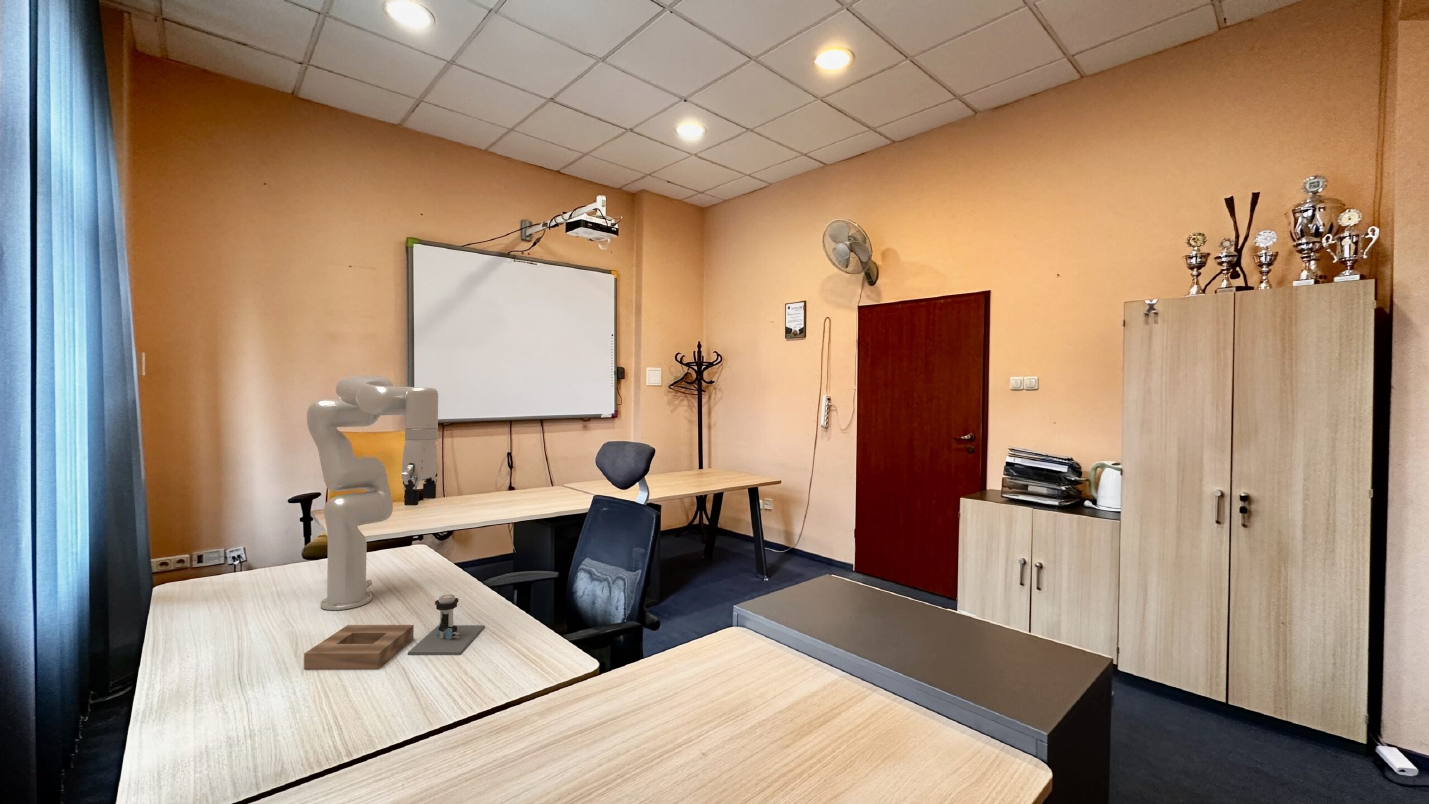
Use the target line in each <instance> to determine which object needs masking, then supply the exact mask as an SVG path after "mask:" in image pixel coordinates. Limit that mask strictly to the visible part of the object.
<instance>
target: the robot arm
mask: <svg viewBox="0 0 1429 804" xmlns="http://www.w3.org/2000/svg"><path fill="white" fill-rule="evenodd" d="M335 394H336V395H337V396H338V398H324V399H319V400H316V401H314V402H312V403H311V404H310V405H309V407H308V408H307V413H306V424H307V425H306V426H307V428H308V431H309V434H310V437H312V440H313V441H314V443H315V445H316V448H317V451H318V457H319V462H320V467H321V472H322V477H323V482H324V484H325V486H326V488H327V489H328V490H329V491H330V492H331V491H332V492H345V491H354V490H356V491H357V490H363V489H365V491H361V492H352V493H345V494H339V495H335V496H333V497H332V498H331V497H330V499H329V500H328V501H326V503H325V504H324V507H323V515H324V516H323V517H324V520H325V525H326V533H327V571H326V572H327V573H326V574H327V581H326V582H327V584H326V585H327V587H326V589H327V590H326V592H327V593H326V598H323V600H321V602H320V608H322V609H323V610H326V611H341V610H350V609H353V608H358V607H361V606H363V605H366V604H368V603H370V602H371V601H372V600H373V595H372V593H370V592H367V589H368V588H369V587H371V586H372V585H373V581H372V580H371V579H367V546H368V543H367V539H366V536H365V535H364V534H363V533H362V531H360V529H359V528H358V527H360V526H363V525H369V524H375V523H380V522H385V521H387V520H388V519H389V518H390V517H391V516H392V514H393V512H394V511H393V509H394V504H393V498H392V497H393V496H392V493H391V489H390V485H389V479H388V476H387V475H388V474H387V471H386V468H385V465H384V463H383V462H382V460H380V459H379V458H377V457H374V456H361V457H357V456H356V455H355V453H354V448H353V444H352V442H351V440H350V439H349V438H348V437H347V436H346V434H344V433H343V432H342V431H340V429H338V428H352V427H354V428H357V427H358V428H359V427H370V426H372V425H374V424H375V423H376V422H377V421H378V420H379V418H381V416H405V417H404V418H405V419H404V421H405V422H404V447H403V452H402V463H401V480H402V484H403V490H404V494H403V495H404V497H403V498H404V500H403V501H404V506H409V507H410V506H414V507H415V506H418V505H419V499H420V497H419V492H420V491H419V489H417V488H418V486H419V484H420V481H423V482H424V483H422V499H424V500H425V499H427V500H429V499H431V500H433V499H434V500H435V499H436V498H437V483H438V478H437V477H438V472H439V471H438V470H439V465H438V451H437V450H438V449H437V441H439V439H438V435H439V434H438V433H439V425H438V424H439V392H438V390H437V389H436V388H434V387H416V386H401V385H400V386H399V385H398V386H395V385H394V384H393V382H392V381H391V379H389V378H387V377H384V376H374V375H356V374H355V375H348V376H345V377H343V378H342V379H340V380H339V381H338V382H337V383H336V387H335Z"/></svg>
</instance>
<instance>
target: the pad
mask: <svg viewBox="0 0 1429 804" xmlns="http://www.w3.org/2000/svg"><path fill="white" fill-rule="evenodd" d="M439 625H440V624H438V625H437V626H439ZM437 626H436V627H435V628H433V629H432V630H431V631H430V632H429V633H428V634H427V635H426V636H424V637H423V638H422V639H421V640H420V641H419V642H418V643H416V645H414V646H413V647H412V648H411V649H410V650H409V651H408V652H407V656H443V655H444V656H458V655H459V656H460V655H461V654H462V653H463V652H465V650H466V649H467V647H469V645H471V643H472V642H473V641H474V640H475V639H476V638H477V637H478V636H479V635H480V634H481V632H483V630H485V628H486V626H485V624H482V625H480V624H477V625H476V624H475V625H471V624H470V625H469V624H468V625H467V624H466V625H465V624H464V625H463V624H456V625H455V624H454V626H457V633H456V636H458V637H459V638H453V639H450V640H448V639H445V638H443V639H441V638H440V637H437ZM458 633H459V634H458Z"/></svg>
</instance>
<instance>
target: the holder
mask: <svg viewBox="0 0 1429 804" xmlns="http://www.w3.org/2000/svg"><path fill="white" fill-rule="evenodd" d="M414 631H415V627H414V624H346V625H345V626H344V627H342V628H341V629H339V630H338V631H336V632H335V633H333V634H331V635H330V636H329V637H327V638H326V639H324V640H323V641H321V642H319V643H317V645H315V646H313V647H312V648H310V649H309V650H307V651H306V652H304V653H303V654H304V655H303V670H380V668H381V667H383V666H384V665H385V664H386V663H387V662H388V661H389V660H391V659H392V658H393V657H394V656H395V655H397V654H398V653H399V652H400V651H402V649H403V648H404V647H406V646H407V645H408V644H410V643H411V642H412V641H414V637H415V636H414V633H415V632H414Z"/></svg>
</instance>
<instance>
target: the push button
mask: <svg viewBox="0 0 1429 804" xmlns="http://www.w3.org/2000/svg"><path fill="white" fill-rule="evenodd" d="M459 600H460V599H459V598H458V597H456V596H455V595H454V594H444V595H443V594H442V595H441V596H439V598H438V599H437V600H435V602H434V605H435V606H436V610H438V611H439V618H440V619H439V624H438V625H439V626H438V625H437V626H436V627H437V637H440V638H441V639H443V638H445V639H448V640H450V639H453V638H459V637H458V636H456V633H457V626H454V625H455V624H454V609H455V608H457V607H458V603H459ZM458 634H459V633H458Z"/></svg>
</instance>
